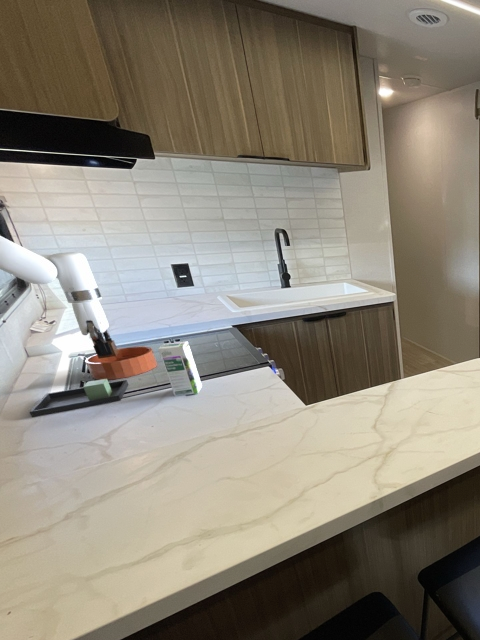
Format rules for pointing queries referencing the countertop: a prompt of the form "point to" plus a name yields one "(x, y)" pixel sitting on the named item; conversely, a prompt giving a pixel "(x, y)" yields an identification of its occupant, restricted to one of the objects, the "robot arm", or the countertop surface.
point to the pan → (75, 399)
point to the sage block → (97, 389)
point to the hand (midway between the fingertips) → (107, 352)
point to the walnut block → (113, 349)
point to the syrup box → (180, 368)
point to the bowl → (122, 363)
